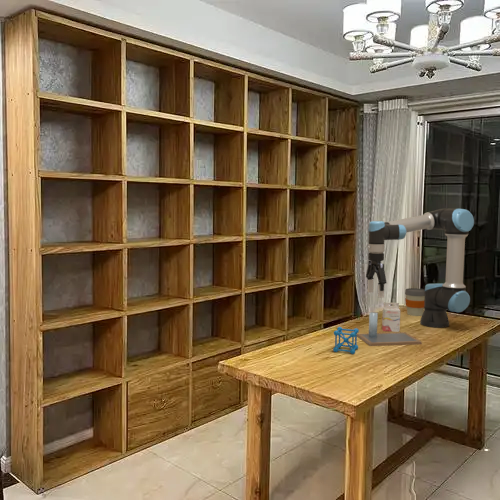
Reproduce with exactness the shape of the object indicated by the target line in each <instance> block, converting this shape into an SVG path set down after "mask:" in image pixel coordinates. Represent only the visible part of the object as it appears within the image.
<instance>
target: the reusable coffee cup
mask: <svg viewBox="0 0 500 500" xmlns="http://www.w3.org/2000/svg"><path fill="white" fill-rule="evenodd" d="M404 294H405V299H404V301H405V307H406V312H407V313H406V314H407V315H409V316H412V317H422V314H423V312H424V298H425V288H417V287H415V288H413V287H412V288H411V287H410V288H409V287H408V288H406V289H405V291H404Z"/></svg>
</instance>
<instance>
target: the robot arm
mask: <svg viewBox="0 0 500 500" xmlns="http://www.w3.org/2000/svg"><path fill="white" fill-rule="evenodd" d="M474 224H475V219H474V216H473V214H472V213H471V212H470V211H469V210H468V209H466V208H465V209H464V208H448V207H447V208H439V209H436V210H432V211H428V212H425V213H423V214H422V215H421V214H420V215H416V216H412V217H406V218H405V217H404V218H400V219H396V220H390V221H386V222H385V221H384V220H383V221H382V220H380V221H379V220H372V221H370V222H369V224H368V229H367V231H368V246H367V248H368V258H367V259H368V262H367V263H368V266H367V270H366V274H365V278H366V279H367V293H368V294H369V293H374V276H375V274H376V278H377V281H378V283H377V284H378V285H377V298H385V285H386V284H387V277H386V271H385V264H384V263H382V262H383V261H384V260H385V253H384V252H385V241H389V240H390V241H399V240H404V239H405V238H406V236H407V233H412V232H417V231H421V230H427V231H430V230H442V231H444V235H445V236H446V237H447V242H446V261H445V262H446V266H445V282H444V283H427V284H426V285H425V286H424V290H425V298H424V311H423V314H422V316H420V317H421V318H420V325H422V326H426V327H429V328H448V327H449V326H450V319H449V317H448V314H447V311H450V312H453V313H454V312H456V313H461V312H463V311H465V310H466V309H468V307H469V306H470V302H471V296H470V295H469V293H468V291H466V289H467V288H466V287H467V286H466V285H465V284H464V267H465V266H464V265H465V247H466V245H465V244H466V243H465V242H466V238H467V237H468V235H469V231H471V230H472V228H473V227H474Z"/></svg>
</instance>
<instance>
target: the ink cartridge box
mask: <svg viewBox="0 0 500 500" xmlns="http://www.w3.org/2000/svg"><path fill="white" fill-rule="evenodd" d="M399 305H400V303H399V302H383V307H382V320H381V321H382V322H381V323H382V324H381V329H382V331H383V332H390V333H400V327H401V326H400V325H401V309H400V308H399V307H400V306H399Z"/></svg>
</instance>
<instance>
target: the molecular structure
mask: <svg viewBox="0 0 500 500" xmlns="http://www.w3.org/2000/svg"><path fill="white" fill-rule="evenodd" d="M343 331H345V332H343ZM347 332H348V333H347ZM349 332H350V333H349ZM359 332H360V331H359V328H357V327H356V328H353V329H348V328H343V327H342V326H338V327H337V330H336V329H335V330H334V331H333V335H334V339H335V340H334V347H333V349H332V351H333V352H335V353H337V352H339V351H340V352H346V353H347V352H348V353H350V354H352V355H354V354H355V353H356V350H358V349H359V345H358V342H357V341H358V340H357V339H358V338H357V334H359ZM346 336H348V337H346ZM351 338H352V339H351ZM341 339H342V340H343V341H341ZM350 339H351V341H350ZM345 344H347V345H345ZM342 347H344V348H349V349H350V350H349V349H341V348H342Z"/></svg>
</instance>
